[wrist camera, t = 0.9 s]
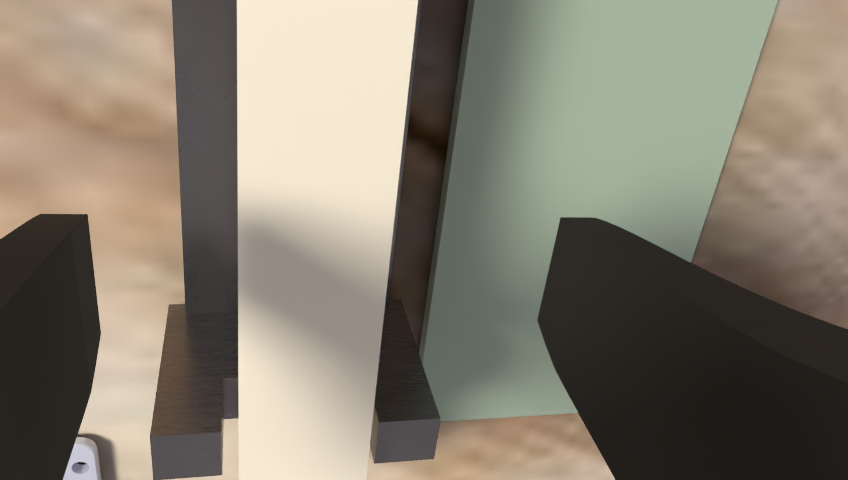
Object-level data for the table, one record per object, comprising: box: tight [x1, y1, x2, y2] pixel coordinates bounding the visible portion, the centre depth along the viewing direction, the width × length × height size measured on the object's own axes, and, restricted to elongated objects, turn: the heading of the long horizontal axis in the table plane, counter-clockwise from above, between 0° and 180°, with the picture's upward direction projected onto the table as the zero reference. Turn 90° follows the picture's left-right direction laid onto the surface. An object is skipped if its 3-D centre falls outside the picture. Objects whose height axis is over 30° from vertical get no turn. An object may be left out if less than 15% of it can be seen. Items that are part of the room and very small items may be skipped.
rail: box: [237, 0, 418, 480], centre depth 15 cm, size 20×3×3 cm, turn 173°
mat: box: [419, 0, 778, 422], centre depth 23 cm, size 20×9×1 cm, turn 173°
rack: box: [150, 0, 441, 480], centre depth 17 cm, size 18×7×6 cm, turn 173°
